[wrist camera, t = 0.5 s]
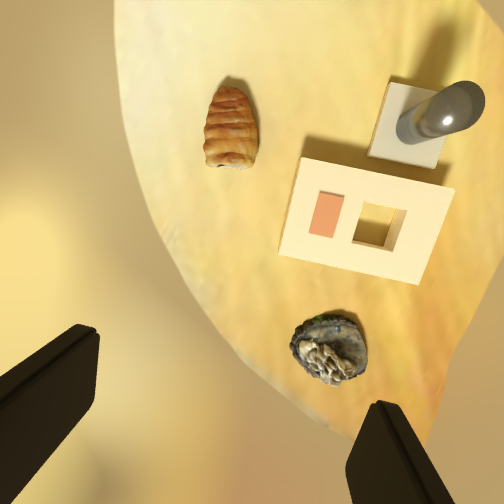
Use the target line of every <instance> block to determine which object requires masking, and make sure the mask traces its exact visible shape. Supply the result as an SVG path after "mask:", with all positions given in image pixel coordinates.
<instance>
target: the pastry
mask: <svg viewBox="0 0 504 504" xmlns="http://www.w3.org/2000/svg"><path fill="white" fill-rule="evenodd" d="M204 134H205V143H204V145H203V149H204V152H205V154H206V164H207V165H208V166H209V167H212V168H216V167H219V168H233V167H235V168H237V169H240V170H242V169H248V168H250V167H252V166H253V164H254V162H255V158H256V155H257V153H258V148H259V146H258V138H257V127H256V124H255V120H254V117H253V114H252V110H251V107H250V104H249V102H248V98H247V96H246V95H245V94H244V93H243V92H241V91H240V90H239V89H237V88H232V87H227V86H222V87H221V88H220V89H219V90H218V91H217V92H216V93H215V95H214V97H213V100H212V103H211V104H210V106H209V111H208V115H207V118H206V125H205V127H204Z"/></svg>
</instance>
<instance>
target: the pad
mask: <svg viewBox="0 0 504 504" xmlns="http://www.w3.org/2000/svg"><path fill="white" fill-rule="evenodd" d="M438 92H439V91H434V90H429V89H424V88H419V87H414V86H409V85H404V84H399V83H394V82H391V83H389V84H388V85H387V89H386V92H385V95H384V99H383V102H382V105H381V109H380V112H379V115H378V119H377V122H376V125H375V129H374V132H373V135H372V139H371V142H370V145H369V149H368V152H367V156H368V157H373V158H378V159H383V160H387V161H392V162H397V163H402V164H407V165H411V166H416V167H421V168H426V169H435V167H436V165H437V162H438V159H439V156H440V154H441V151H442V148H443V145H444V143H445V140H446V137H447V135H445V136H442V137H438V138H435V139H432V140H428V141H425V142H422V143H418V144H415V145H407V144H404V143H403V142H401V141H400V140H399V139H398V137H397V134H396V124H397V121H398V119H399V117H400V116H401V115H402V114H403V113H404V112H405V111H407V110H409V109H410V108H412V107H414V106H416V105H417V104H419V103H421V102H423V101H424V100H426V99H428V98H430V97H431V96H433V95H435V94H437V93H438Z"/></svg>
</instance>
